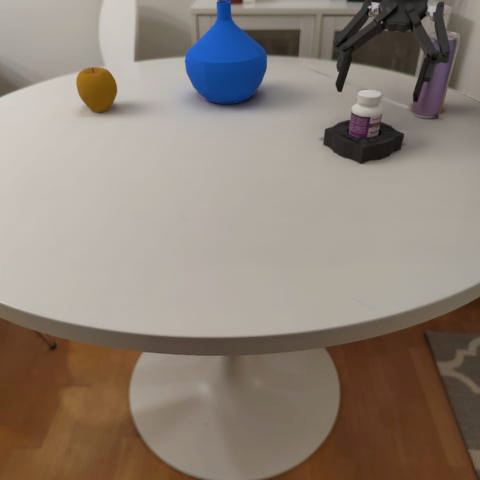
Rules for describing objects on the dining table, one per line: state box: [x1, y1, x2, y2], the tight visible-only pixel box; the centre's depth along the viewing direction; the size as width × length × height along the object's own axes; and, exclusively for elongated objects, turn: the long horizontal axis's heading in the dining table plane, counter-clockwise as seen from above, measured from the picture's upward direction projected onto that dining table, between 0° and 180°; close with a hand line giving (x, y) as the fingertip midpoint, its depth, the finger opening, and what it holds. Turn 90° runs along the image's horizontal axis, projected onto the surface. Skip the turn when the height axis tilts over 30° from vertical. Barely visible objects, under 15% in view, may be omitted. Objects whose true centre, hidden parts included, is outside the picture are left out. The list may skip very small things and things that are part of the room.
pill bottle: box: [349, 89, 383, 138], centre depth 81 cm, size 5×5×10 cm
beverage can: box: [410, 30, 461, 119], centre depth 91 cm, size 6×6×15 cm
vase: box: [184, 0, 268, 105], centre depth 100 cm, size 18×18×19 cm
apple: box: [75, 66, 118, 113], centre depth 100 cm, size 8×8×9 cm
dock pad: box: [323, 119, 405, 165], centre depth 84 cm, size 11×11×3 cm
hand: (375, 93), depth 80 cm, fingers open, 13 cm apart
